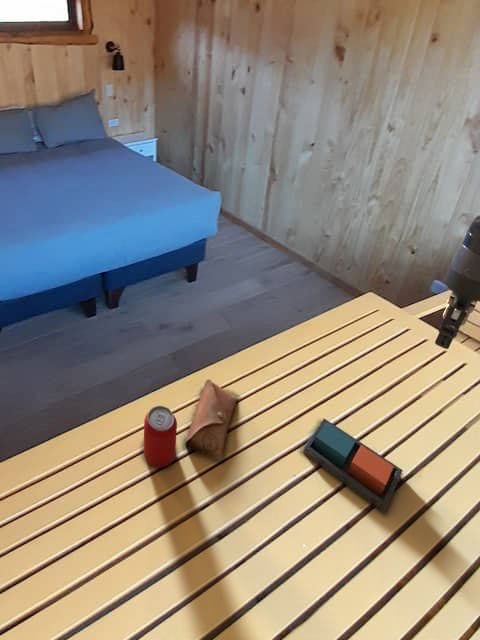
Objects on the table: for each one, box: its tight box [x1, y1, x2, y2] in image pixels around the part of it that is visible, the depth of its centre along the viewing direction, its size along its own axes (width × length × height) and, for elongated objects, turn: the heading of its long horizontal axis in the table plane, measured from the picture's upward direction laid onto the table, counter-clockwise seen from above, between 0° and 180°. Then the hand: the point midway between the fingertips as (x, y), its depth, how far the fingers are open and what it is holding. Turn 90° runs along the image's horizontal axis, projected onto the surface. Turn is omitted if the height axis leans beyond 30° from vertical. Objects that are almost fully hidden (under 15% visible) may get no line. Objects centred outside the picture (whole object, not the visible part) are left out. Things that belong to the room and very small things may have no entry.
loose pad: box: [348, 445, 394, 497], centre depth 80 cm, size 6×5×4 cm
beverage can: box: [143, 405, 178, 468], centre depth 84 cm, size 7×7×12 cm
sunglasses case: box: [184, 379, 238, 458], centre depth 92 cm, size 18×7×7 cm, turn 155°
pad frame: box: [302, 418, 404, 513], centre depth 83 cm, size 16×10×3 cm, turn 43°
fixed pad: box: [313, 422, 355, 469], centre depth 85 cm, size 6×5×4 cm
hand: (446, 334), depth 81 cm, fingers open, 8 cm apart
